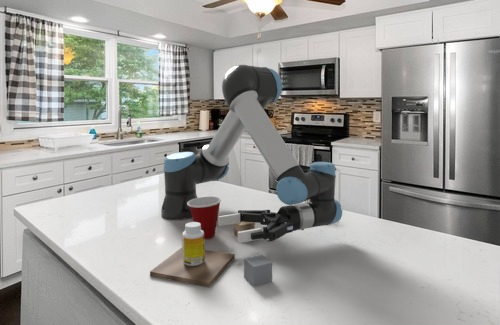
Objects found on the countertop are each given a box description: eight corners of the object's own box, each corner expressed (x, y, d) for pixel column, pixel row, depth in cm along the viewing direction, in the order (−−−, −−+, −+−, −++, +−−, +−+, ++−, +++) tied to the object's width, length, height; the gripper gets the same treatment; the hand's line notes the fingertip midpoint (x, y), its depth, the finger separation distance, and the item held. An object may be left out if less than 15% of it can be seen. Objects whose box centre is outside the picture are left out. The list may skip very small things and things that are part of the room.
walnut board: (150, 276, 83) (149, 271, 83) (183, 250, 98) (183, 246, 98) (209, 287, 78) (209, 282, 78) (234, 258, 93) (234, 254, 93)
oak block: (240, 240, 106) (240, 225, 105) (234, 235, 110) (233, 220, 109) (254, 237, 108) (254, 222, 107) (248, 232, 112) (248, 218, 111)
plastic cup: (189, 230, 114) (188, 195, 112) (221, 229, 115) (221, 195, 113) (186, 243, 103) (184, 205, 101) (221, 242, 104) (221, 204, 102)
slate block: (253, 287, 78) (253, 267, 77) (244, 277, 83) (243, 258, 82) (272, 282, 80) (272, 262, 80) (262, 273, 85) (262, 254, 84)
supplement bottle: (207, 264, 87) (206, 226, 85) (186, 268, 84) (185, 229, 83) (201, 255, 92) (200, 219, 90) (180, 259, 89) (179, 222, 88)
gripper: (320, 245, 89) (248, 260, 80) (273, 217, 112) (212, 227, 102) (321, 217, 88) (248, 230, 79) (273, 195, 110) (211, 203, 101)
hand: (227, 228), depth 91 cm, fingers open, 13 cm apart
